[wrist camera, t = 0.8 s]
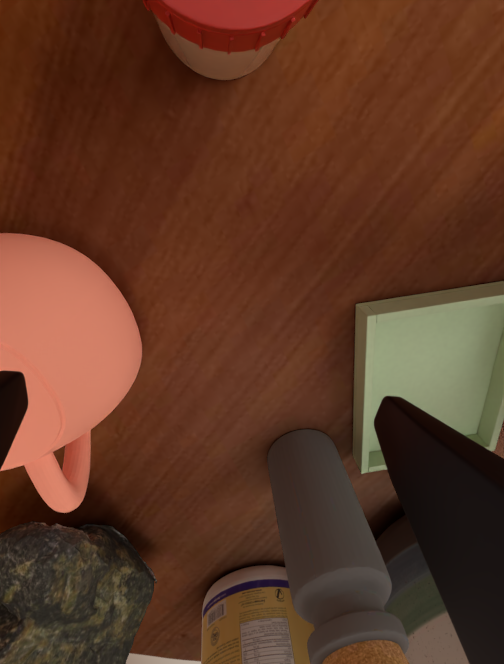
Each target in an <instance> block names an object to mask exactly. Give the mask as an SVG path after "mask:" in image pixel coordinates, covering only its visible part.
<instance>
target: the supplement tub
mask: <svg viewBox="0 0 504 664" xmlns="http://www.w3.org/2000/svg"><path fill="white" fill-rule="evenodd" d="M314 630H315V629H314V625H313V624H311V623H309V622H307V621H305V620H304V619H302V618H301V617H300V616H299V615H298V614H297V613H296V611H295V610H294V607H293V603H292V598H291V593H290V588H289V583H288V577H287V572H286V568H285V567H280V566H273V565H260V566H252V567H247V568H243V569H240V570H237V571H234V572H232V573H230V574H228V575H226V576H224V577H222V578H221V579H219V580H218V581H217V582H215V583H214V584H213V585H212V587H211V588H210V589H209V591H208V592H207V594H206V597H205V599H204V603H203V609H202V649H201V664H310V660H309V655H308V649H307V642H308V638H309V637H310V635H311V633H312V632H313V631H314Z"/></svg>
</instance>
